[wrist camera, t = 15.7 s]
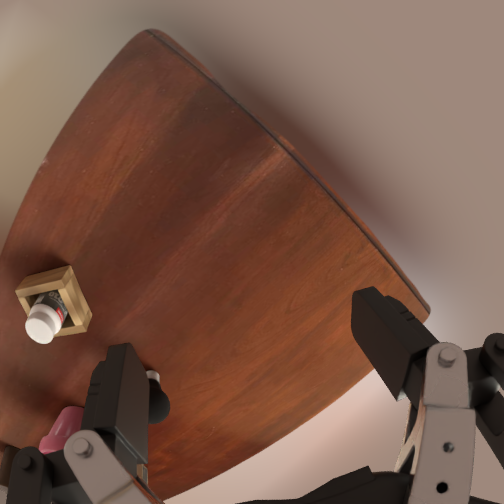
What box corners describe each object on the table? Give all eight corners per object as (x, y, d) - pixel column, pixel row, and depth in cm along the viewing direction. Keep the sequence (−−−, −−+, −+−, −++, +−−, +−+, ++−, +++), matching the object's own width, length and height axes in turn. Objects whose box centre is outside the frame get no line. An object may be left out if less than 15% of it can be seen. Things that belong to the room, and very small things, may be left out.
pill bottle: (79, 299, 39) (62, 337, 31) (60, 314, 39) (43, 351, 32) (57, 275, 37) (35, 309, 29) (38, 291, 37) (17, 326, 29)
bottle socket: (25, 276, 36) (14, 290, 32) (70, 264, 36) (61, 279, 33) (48, 322, 39) (40, 339, 36) (92, 314, 40) (86, 331, 37)
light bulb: (136, 383, 47) (133, 430, 38) (132, 358, 45) (126, 407, 36) (170, 383, 48) (172, 431, 39) (168, 359, 46) (168, 408, 37)
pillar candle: (14, 444, 51) (3, 488, 38) (41, 462, 55) (34, 505, 42) (0, 447, 51) (-10, 488, 38) (25, 464, 56) (18, 504, 42)
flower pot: (37, 396, 45) (22, 448, 34) (97, 395, 47) (87, 454, 35) (70, 436, 51) (62, 483, 40) (125, 436, 53) (122, 488, 42)
